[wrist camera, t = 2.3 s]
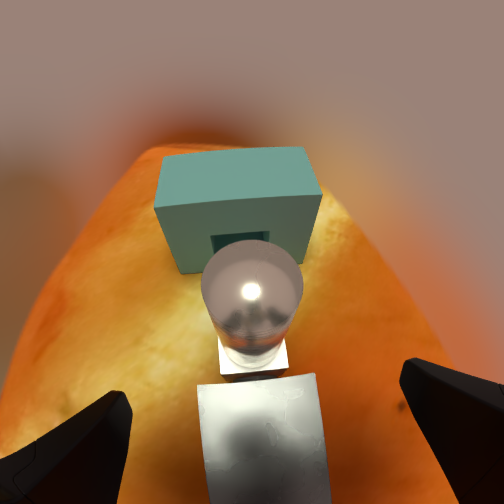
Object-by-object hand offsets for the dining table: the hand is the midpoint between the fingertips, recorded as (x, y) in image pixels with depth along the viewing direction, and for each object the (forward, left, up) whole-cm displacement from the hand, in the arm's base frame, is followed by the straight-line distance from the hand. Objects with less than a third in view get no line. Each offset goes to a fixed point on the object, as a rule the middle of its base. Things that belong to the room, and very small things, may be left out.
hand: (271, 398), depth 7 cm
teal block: (+13, 0, -11) cm, 17 cm away
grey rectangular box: (-5, 0, -11) cm, 12 cm away
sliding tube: (-1, 0, -10) cm, 10 cm away
